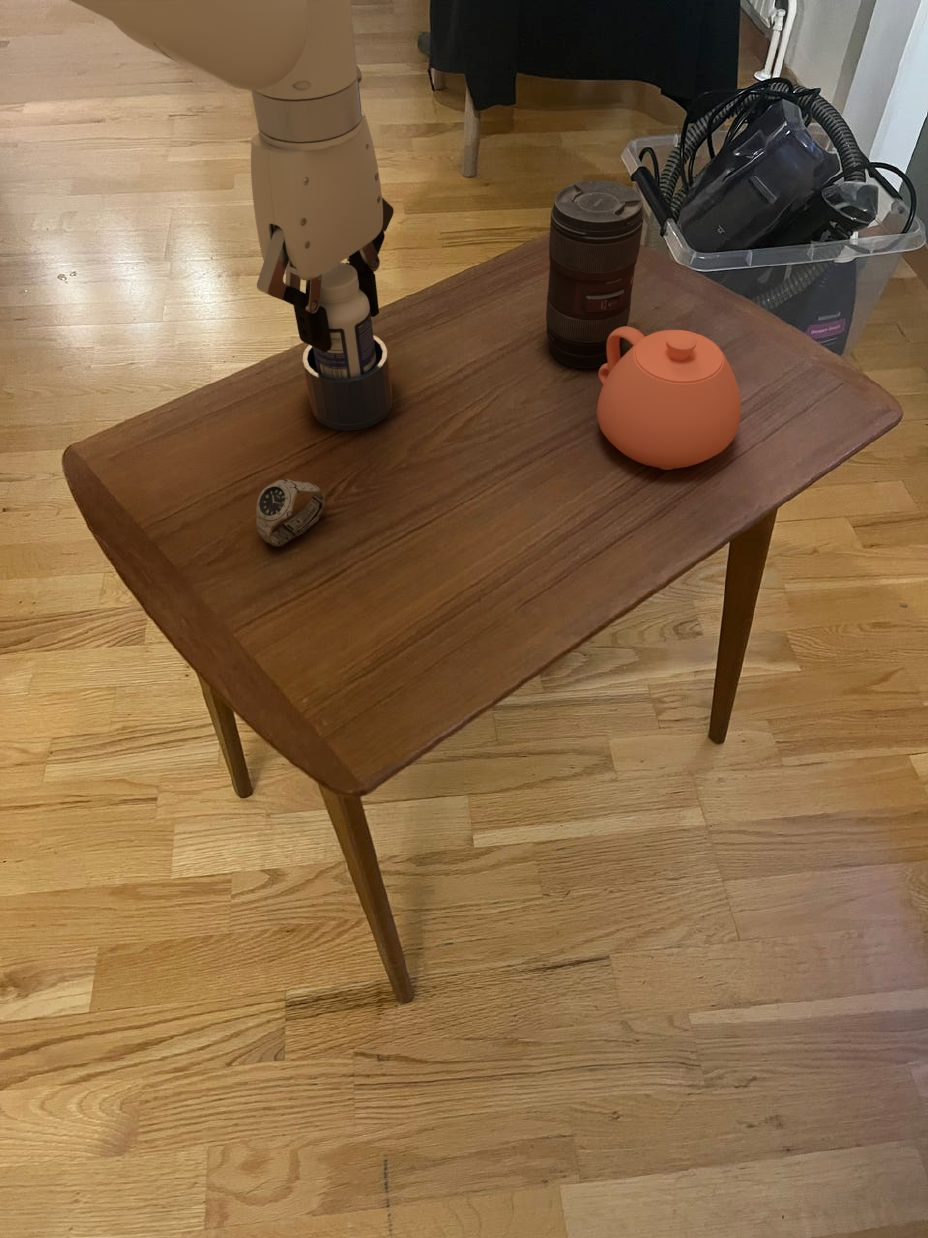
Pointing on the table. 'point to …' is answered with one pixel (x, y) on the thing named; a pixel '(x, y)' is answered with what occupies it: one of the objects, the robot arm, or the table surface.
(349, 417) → the cup
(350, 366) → the pill bottle
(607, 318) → the camera lens
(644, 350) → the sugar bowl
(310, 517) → the wristwatch
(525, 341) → the table surface
